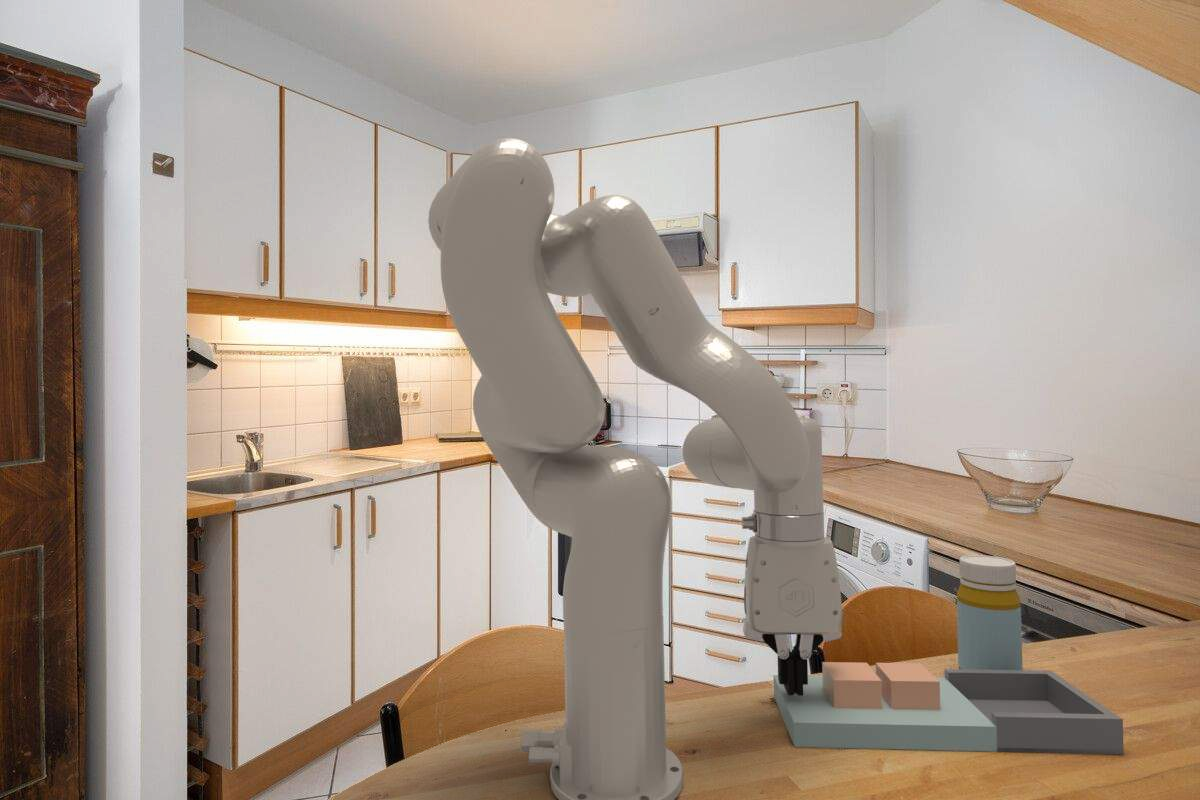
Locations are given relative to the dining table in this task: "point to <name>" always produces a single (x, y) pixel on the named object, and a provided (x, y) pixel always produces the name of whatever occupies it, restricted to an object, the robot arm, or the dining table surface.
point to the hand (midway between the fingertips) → (793, 690)
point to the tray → (1039, 712)
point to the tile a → (852, 685)
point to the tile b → (908, 686)
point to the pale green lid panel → (884, 722)
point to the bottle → (988, 614)
